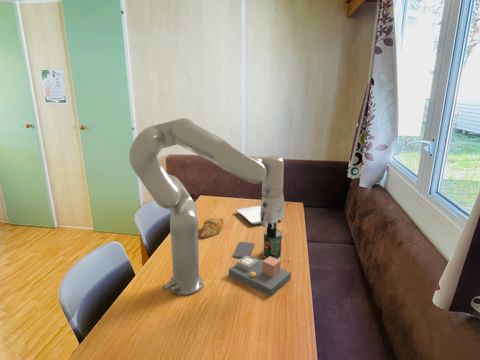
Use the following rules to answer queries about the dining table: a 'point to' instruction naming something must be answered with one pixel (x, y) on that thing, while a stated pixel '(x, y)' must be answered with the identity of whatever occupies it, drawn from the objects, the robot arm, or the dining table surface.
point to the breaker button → (248, 261)
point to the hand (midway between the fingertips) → (271, 236)
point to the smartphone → (243, 249)
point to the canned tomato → (272, 245)
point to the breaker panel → (258, 276)
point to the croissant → (212, 227)
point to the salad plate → (251, 214)
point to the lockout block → (271, 266)
